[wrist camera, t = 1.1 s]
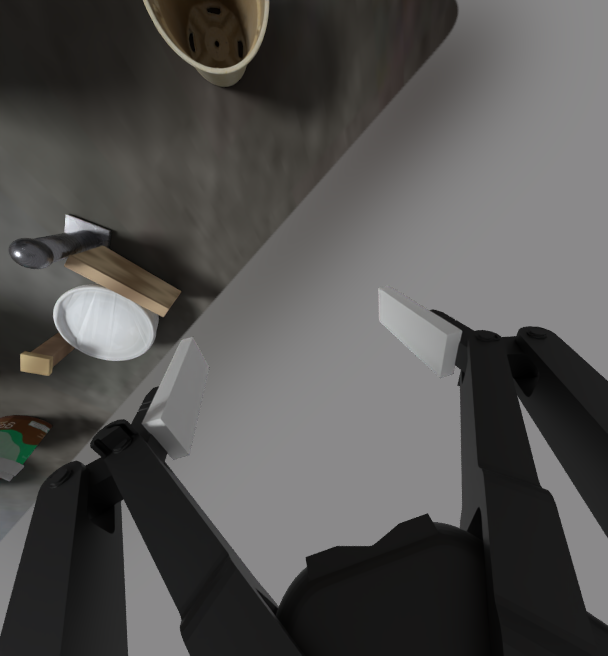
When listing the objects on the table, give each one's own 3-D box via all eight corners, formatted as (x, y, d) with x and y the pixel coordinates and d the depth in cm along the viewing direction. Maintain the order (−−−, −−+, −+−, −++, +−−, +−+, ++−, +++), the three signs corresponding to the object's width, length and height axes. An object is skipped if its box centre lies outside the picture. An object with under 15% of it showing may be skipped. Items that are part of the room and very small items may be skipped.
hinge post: (66, 248, 30) (-13, 269, 21) (69, 214, 28) (-16, 221, 19) (107, 262, 31) (50, 287, 22) (111, 230, 30) (52, 244, 21)
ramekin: (63, 275, 31) (32, 288, 27) (154, 273, 33) (139, 284, 29) (97, 345, 37) (75, 365, 32) (173, 339, 39) (163, 357, 34)
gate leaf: (98, 253, 30) (64, 266, 24) (103, 244, 30) (69, 255, 24) (177, 298, 35) (163, 317, 29) (181, 291, 35) (168, 309, 29)
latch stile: (68, 334, 35) (20, 371, 28) (69, 320, 34) (20, 354, 27) (89, 339, 36) (48, 375, 29) (91, 325, 35) (49, 359, 28)
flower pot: (277, 86, 27) (288, 44, 19) (204, 122, 27) (187, 94, 19) (235, -44, 22) (227, -169, 14) (145, 1, 22) (93, -99, 15)
